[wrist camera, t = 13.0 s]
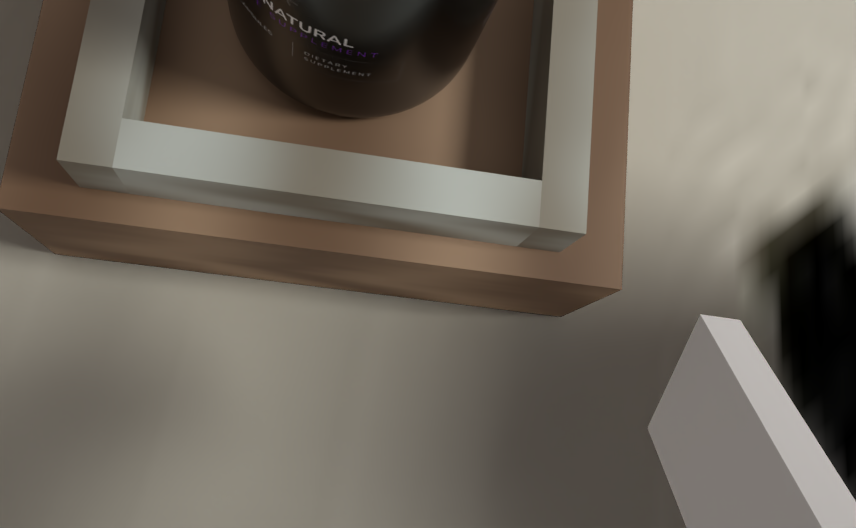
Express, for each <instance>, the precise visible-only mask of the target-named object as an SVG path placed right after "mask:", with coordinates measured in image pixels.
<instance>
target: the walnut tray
mask: <svg viewBox="0 0 856 528" xmlns="http://www.w3.org/2000/svg"><path fill="white" fill-rule="evenodd" d="M632 11H633V0H498V1H497V3H496V5H495V7H494V9H493V11H492V13H491V15H490V17H489V19H488V21H487V23H486V25H485V27H484V29H483V31H482V33H481V35H480V37H479V39H478V40H477V42H476V44H475V46H474V48H473V49H472V51H471V53H470V55H469V57H468V59H467V61H466V62H465V64H464V65H463V67H462V68H461V70H460V71H459V72H458V74H457V75H456V76H455V77H454V78H453V80H452V81H451V82H450V83H449V84H448V85H447V86H446V87H445V88H444V89H443V90H441V91H440V92H439V93H437V94H436V95H435V96H433V97H432V98H430V99H429V100H427V101H425V102H424V103H422V104H420V105H418V106H416V107H413V108H411V109H409V110H406V111H403V112H400V113H397V114H393V115H389V116H382V117H374V118H352V117H344V116H337V115H333V114H328V113H325V112H322V111H319V110H316V109H313V108H311V107H308V106H306V105H304V104H302V103H300V102H298V101H296V100H294V99H292V98H291V97H289V96H288V95H286V94H285V93H283V92H282V91H281V90H279V89H278V88H277V87H275V86H274V85H273V84H272V83H271V82H270V81H269V80H268V79H267V78H266V77H265V76H263V75H262V73H261V72H260V71H259V70H258V69H257V68H256V66H255V65H254V64H253V63H252V61H251V60H250V58H249V57H248V56H247V54H246V52H245V51H244V49H243V47H242V45H241V44H240V41H239V39H238V37H237V35H236V32H235V29H234V26H233V23H232V20H231V16H230V11H229V7H228V1H227V0H43V3H42V7H41V12H40V16H39V21H38V25H37V29H36V34H35V38H34V42H33V47H32V51H31V55H30V60H29V64H28V68H27V73H26V77H25V81H24V86H23V90H22V94H21V99H20V103H19V108H18V112H17V116H16V121H15V125H14V129H13V134H12V138H11V142H10V147H9V151H8V155H7V160H6V164H5V168H4V173H3V177H2V182H1V186H0V212H2V213H3V214H4V215H5V216H7V217H8V218H9V219H11V220H12V221H13V222H15V223H16V224H17V225H18V226H20V227H21V228H22V229H24V230H25V231H26V232H27V233H29V234H30V235H31V236H33V237H34V238H35V239H37V240H38V241H39V242H40V243H42V244H43V245H44V246H46V247H47V248H48V249H49V250H51V251H52V252H53V253H55V254H60V255H68V256H76V257H84V258H92V259H100V260H108V261H116V262H124V263H132V264H140V265H148V266H157V267H165V268H173V269H181V270H189V271H197V272H205V273H213V274H221V275H229V276H237V277H245V278H253V279H261V280H269V281H277V282H285V283H294V284H302V285H310V286H318V287H326V288H334V289H342V290H350V291H358V292H366V293H374V294H382V295H390V296H398V297H406V298H414V299H423V300H431V301H439V302H447V303H455V304H463V305H471V306H479V307H487V308H495V309H503V310H511V311H519V312H527V313H535V314H543V315H552V316H560V317H561V316H564V315H566V314H568V313H570V312H573V311H575V310H577V309H579V308H582V307H584V306H586V305H588V304H591V303H593V302H595V301H597V300H599V299H602V298H604V297H606V296H608V295H611V294H613V293H615V292H617V291H620V290H622V270H623V244H624V218H625V192H626V166H627V140H628V114H629V89H630V63H631V37H632Z"/></svg>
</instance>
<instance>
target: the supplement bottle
mask: <svg viewBox="0 0 856 528" xmlns="http://www.w3.org/2000/svg"><path fill="white" fill-rule="evenodd" d="M227 1H228V7H229V11H230V16H231V20H232V23H233V26H234V29H235V32H236V35H237V37H238V39H239V41H240V44H241V45H242V47H243V49H244V51H245V52H246V54H247V56H248V57H249V58H250V60H251V61H252V63H253V64H254V65H255V66H256V68H257V69H258V70H259V71H260V72H261V73H262V75H263V76H265V77H266V78H267V79H268V80H269V81H270V82H271V83H272V84H273V85H274V86H275V87H277V88H278V89H279V90H281V91H282V92H283V93H285V94H286V95H288V96H289V97H291V98H292V99H294V100H296V101H298V102H300V103H302V104H304V105H306V106H308V107H311V108H313V109H316V110H319V111H322V112H325V113H328V114H333V115H337V116H344V117H352V118H374V117H382V116H389V115H393V114H397V113H400V112H403V111H406V110H409V109H411V108H413V107H416V106H418V105H420V104H422V103H424V102H425V101H427V100H429V99H430V98H432V97H433V96H435V95H436V94H437V93H439V92H440V91H441V90H443V89H444V88H445V87H446V86H447V85H448V84H449V83H450V82H451V81H452V80H453V78H454V77H455V76H456V75H457V74H458V72H459V71H460V70H461V68H462V67H463V65H464V64H465V62H466V61H467V59H468V57H469V55H470V53H471V51H472V49H473V48H474V46H475V44H476V42H477V40H478V39H479V37H480V35H481V33H482V31H483V29H484V27H485V25H486V23H487V21H488V19H489V17H490V15H491V13H492V11H493V9H494V7H495V5H496V3H497V1H498V0H227Z"/></svg>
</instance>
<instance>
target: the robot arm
mask: <svg viewBox="0 0 856 528" xmlns="http://www.w3.org/2000/svg"><path fill="white" fill-rule="evenodd" d="M647 428H648V431H649V433H650V436H651V439H652V441H653V444H654V446H655V449H656V451H657V454H658V456H659V459H660V461H661V464H662V467H663V469H664V472H665V474H666V477H667V479H668V482H669V484H670V487H671V490H672V492H673V495H674V497H675V500H676V502H677V505H678V507H679V510H680V513H681V515H682V518H683V520H684V523H685V525H686V528H856V501H855V499H854V498H853V496H852V495H851V493H850V492H849V490H848V488H847V487H846V485H845V484H844V482H843V481H842V479H841V477H840V476H839V474H838V473H837V471H836V470H835V468H834V466H833V465H832V463H831V462H830V460H829V459H828V457H827V455H826V454H825V452H824V451H823V449H822V448H821V446H820V444H819V443H818V441H817V440H816V438H815V437H814V435H813V433H812V432H811V430H810V429H809V427H808V426H807V424H806V422H805V421H804V419H803V418H802V416H801V415H800V413H799V411H798V410H797V408H796V407H795V405H794V404H793V402H792V400H791V399H790V397H789V396H788V394H787V393H786V391H785V389H784V388H783V386H782V385H781V383H780V382H779V380H778V378H777V377H776V375H775V374H774V372H773V371H772V369H771V367H770V366H769V364H768V363H767V361H766V360H765V358H764V356H763V355H762V353H761V352H760V350H759V349H758V347H757V345H756V344H755V342H754V341H753V339H752V338H751V336H750V334H749V333H748V331H747V330H746V328H745V327H744V325H743V323H742V322H741V320H737V319H730V318H723V317H716V316H709V315H702V314H700V316H699V318H698V320H697V322H696V324H695V326H694V329H693V331H692V333H691V335H690V337H689V339H688V341H687V344H686V346H685V348H684V350H683V352H682V354H681V356H680V359H679V361H678V363H677V365H676V367H675V369H674V372H673V374H672V376H671V378H670V380H669V382H668V384H667V387H666V389H665V391H664V393H663V395H662V397H661V399H660V402H659V404H658V406H657V408H656V410H655V412H654V414H653V417H652V419H651V421H650V423H649V425H648V427H647Z"/></svg>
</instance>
